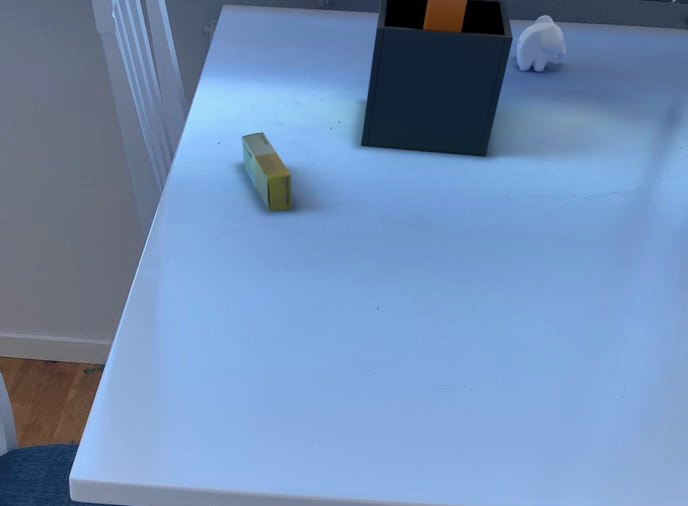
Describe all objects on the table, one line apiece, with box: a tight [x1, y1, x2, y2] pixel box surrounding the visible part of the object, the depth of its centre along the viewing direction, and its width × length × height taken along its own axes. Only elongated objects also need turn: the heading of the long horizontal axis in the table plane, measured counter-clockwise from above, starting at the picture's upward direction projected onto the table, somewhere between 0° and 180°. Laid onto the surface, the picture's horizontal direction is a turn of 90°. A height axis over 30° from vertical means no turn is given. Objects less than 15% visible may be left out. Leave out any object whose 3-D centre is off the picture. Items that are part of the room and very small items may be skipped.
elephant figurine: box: [513, 15, 568, 73], centre depth 131 cm, size 7×8×6 cm
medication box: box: [241, 132, 293, 212], centre depth 102 cm, size 12×3×4 cm, turn 12°
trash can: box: [360, 0, 514, 158], centre depth 111 cm, size 15×15×13 cm
